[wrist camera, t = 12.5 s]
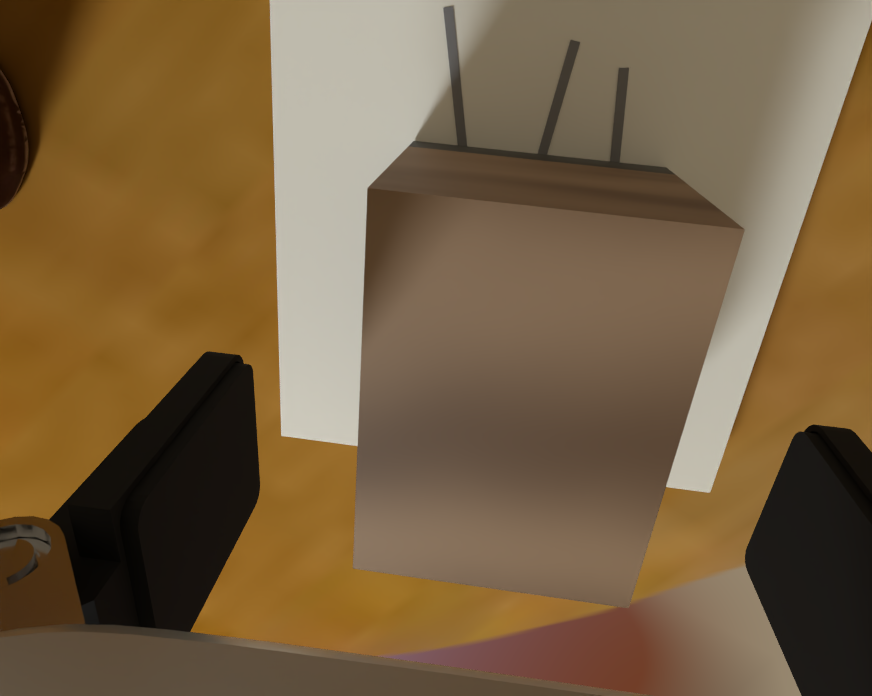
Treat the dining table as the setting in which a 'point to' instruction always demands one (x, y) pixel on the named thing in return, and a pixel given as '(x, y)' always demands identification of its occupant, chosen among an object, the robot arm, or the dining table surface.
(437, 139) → the board
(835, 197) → the dining table surface
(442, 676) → the robot arm
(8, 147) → the coffee cup
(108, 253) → the dining table surface
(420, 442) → the block
